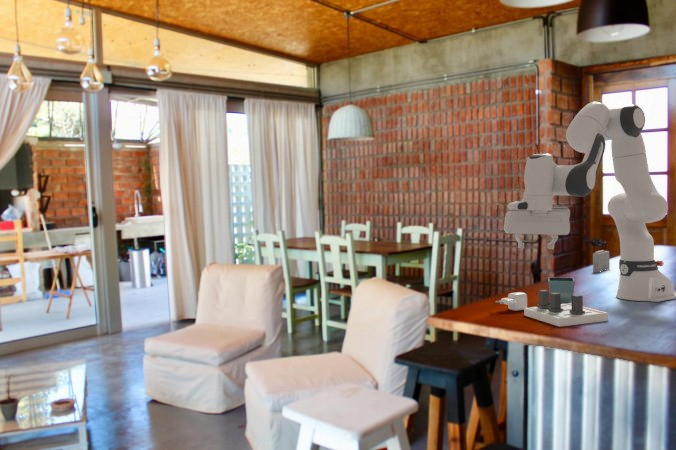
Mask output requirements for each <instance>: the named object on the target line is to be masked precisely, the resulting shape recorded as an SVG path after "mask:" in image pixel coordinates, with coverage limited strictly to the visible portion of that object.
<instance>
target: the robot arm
mask: <svg viewBox="0 0 676 450" xmlns="http://www.w3.org/2000/svg"><path fill="white" fill-rule="evenodd" d="M645 123H646V116H645V113H644V110H643V109H642V108H641V107H640V106H638V105H637V104H626V105H623V106H621V105H620V106H612V107H607V105H605V104H604V103H602V102H598V101H593V102H589V103H587V104H586V105H585V106H583V108H581V109H580V110H579V111H578V112H577V114H576V115H575V116H574V118H573V119H572V120H571V122H570V124H569V125H568V126H567V129H566V132H565V138H566V141H567V143H568V146H570V147H571V149H573V150H575V151H576V152H578V153H582V154H584V157H583V159H582V161H581V162H580V163H576V164H568V165H567V164H564V165H563V164H562V165H558V164H557V163H555V162H554V158H553V157H554V156H553V154H551V153H546V152H545V153H535V154H530V155H529V156H528V157H527V159H526V161H525V166H524V167H525V168H524V175H523V176H524V177H523V182H524V187H525V188H524V192H523V199H519V200H516V201H512V202H509V203H507V209H508V211H506V213H505V216H504V222H503V231H504V232H505V234H510V235H511V234H514V238H515V240H516V242H517V248H518V249H525V242H522V240H521V238H522V235H548V236H549V235H550V237H551V240H550V242H547V244H546V245H547V247H546V249H548V250H554V249H555V243H556V242H557V240H558V239H559V236H567V235H569V234H570V232H571V223H570V217H571V210H570V208H569V207H567V206H566V205H554V204H553V203H554V202H553V201H554V196H572V197H579V198H584V197H587V196H588V195H589V194H591V192H593V190H594V189H595V187H596V182H597V177H598V172H599V169H600V166H601V162H602V160H603V156H604V154H605V150H606V141H611V156H612V157H611V158H612V164H613V171H614V177H615V180H616V181H617V182H618V183H619V184H620V185H621V187H622V189H623V190H624V192H621V193H619V194H616V195H614V196H612V197H611V198H610V199H609V201H608V202H607V203H608V204H607V212H608V214H609V215H610V216H611V218H612V219H613V221H614V223H615V226H616V229H617V233H618V237H619V249H620V250H619V253H620V257H619V258H620V259H619V261H618V264H619V265H618V269H619V272H620V273H619V280H618V287H617V292H616V295H615V297H616V298H618V299H621V300H626V301H635V302H636V301H637V302H639V301H640V302H653V303H654V302H658V303H659V302H664V301H668V300H674V299H676V292H675V285H674V281H673V280H672V279H671V278H669V277H668V276H666V274H664V273H663V272H661V271H660V270H659V267H663V266H664V264H665V262H664V261H663V260H655V249H654V248H655V245H654V243H655V240H654V238H653V236H652V235H651V234H650V233H649V231H648V228H647V226H646V224H651V223H656V222H659V221H661V220H662V219H665V217H666V215H667V213H668V212H669V211H668V210H669V205H668V202H667V200H666V198H665V197H664V196H662V195H661V194H660V193H659V191H658V190H657V188H656V185H655V184H654V182H653V180H652V177H651V174H650V170H649V164H648V158H647V152H646V146H645V141H644V138H643V135H642V131H643V129H644V127H645V125H646V124H645Z"/></svg>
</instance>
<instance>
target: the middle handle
mask: <svg viewBox="0 0 676 450" xmlns="http://www.w3.org/2000/svg"><path fill="white" fill-rule="evenodd" d="M549 305H550V308H548V310H549V311H552V312H560V311H563V309H562V308H561V294H559V293H550V292H549Z"/></svg>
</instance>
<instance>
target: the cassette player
mask: <svg viewBox="0 0 676 450" xmlns="http://www.w3.org/2000/svg"><path fill="white" fill-rule="evenodd" d="M610 266H611V265H610V251H609V250H605V249H601V250H598V251H597V250H596V251H595V252H594V253H592V273H594V272H600V271H602V270H605V269H608V268H610ZM608 270H609V269H608ZM605 271H606V270H605ZM602 272H603V271H602ZM600 273H601V272H600Z"/></svg>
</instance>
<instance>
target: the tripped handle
mask: <svg viewBox="0 0 676 450" xmlns="http://www.w3.org/2000/svg"><path fill="white" fill-rule="evenodd" d="M571 298H572V300H571V303H572V310H570V313H572V314H576V315H577V314H585V311H583V307H584V302H583V299H584V298H583V295H581V294H573V295H571Z"/></svg>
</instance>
